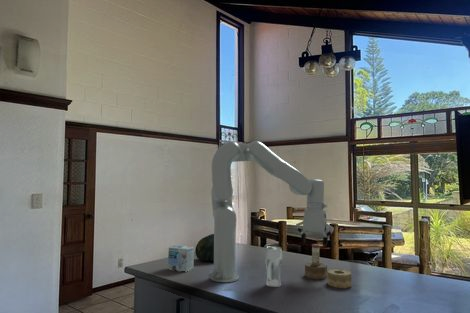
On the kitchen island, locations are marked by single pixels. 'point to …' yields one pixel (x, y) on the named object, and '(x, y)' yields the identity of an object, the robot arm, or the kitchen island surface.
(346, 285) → the oak bead
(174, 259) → the light bulb box
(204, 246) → the squash
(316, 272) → the walnut bead
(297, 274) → the kitchen island surface
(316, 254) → the cream and red cylinder
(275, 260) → the beer glass
